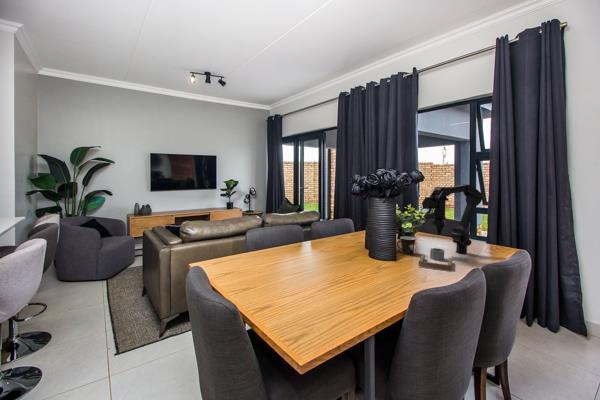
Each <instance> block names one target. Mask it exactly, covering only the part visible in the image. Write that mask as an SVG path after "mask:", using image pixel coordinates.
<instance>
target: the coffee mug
mask: <svg viewBox="0 0 600 400" xmlns="http://www.w3.org/2000/svg"><path fill="white" fill-rule="evenodd" d="M416 239H417V238H416V237H413V236H400V240H398V241H397V243H396V247H397V248H398V249H400V250H401V254H403V255H411V256H412V255H414V252H415V245H416ZM399 243H400V246H399Z"/></svg>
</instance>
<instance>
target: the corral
mask: <svg viewBox="0 0 600 400" xmlns="http://www.w3.org/2000/svg"><path fill="white" fill-rule="evenodd" d="M425 259H426V255H425V254H421V256H420V259H419V260H418V267H419V268H421V269H424V268H426V269H428V270H431V269H433V270H435V271H438V270H440V272H443V271H444V272H445V271H447V272H448V273H451V272H452V265H453V264H452V263H453V260H452V258H451V257H448V261H447V264H444V263H437V262H436V263H435V262H430V261H425Z"/></svg>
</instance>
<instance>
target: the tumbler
mask: <svg viewBox="0 0 600 400" xmlns="http://www.w3.org/2000/svg"><path fill="white" fill-rule="evenodd" d="M429 253H430V254H429V256H430V257H429V258H430V260H432V261H436V262H437V261H438V262H443V261H444V260H445V249H443V248H439V247H438V248H437V247H434V248H433V247H432V248H430V252H429Z"/></svg>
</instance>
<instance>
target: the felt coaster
mask: <svg viewBox="0 0 600 400" xmlns="http://www.w3.org/2000/svg"><path fill="white" fill-rule="evenodd" d="M450 258H452V261H454V262H463V263H468V261H469V260H468V258H467V257H461V256H451V257H450Z"/></svg>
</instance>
